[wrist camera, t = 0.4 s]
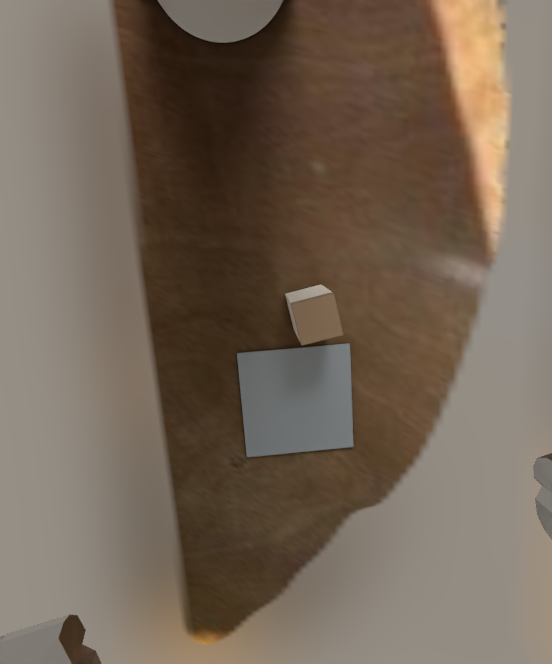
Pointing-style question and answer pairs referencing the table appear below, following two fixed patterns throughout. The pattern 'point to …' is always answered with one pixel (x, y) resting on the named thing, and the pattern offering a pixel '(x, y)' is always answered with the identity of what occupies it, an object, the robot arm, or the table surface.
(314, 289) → the cream block
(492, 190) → the table surface
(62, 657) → the robot arm
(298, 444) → the slate mat
